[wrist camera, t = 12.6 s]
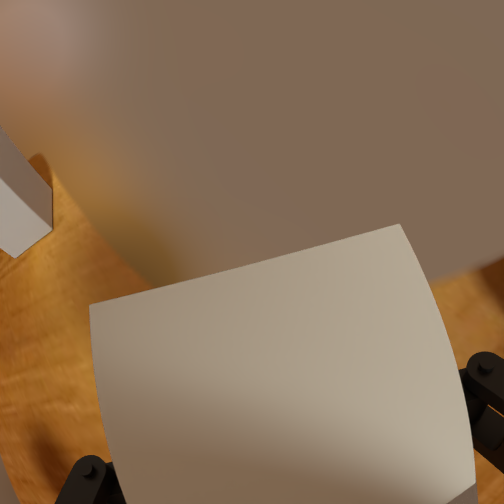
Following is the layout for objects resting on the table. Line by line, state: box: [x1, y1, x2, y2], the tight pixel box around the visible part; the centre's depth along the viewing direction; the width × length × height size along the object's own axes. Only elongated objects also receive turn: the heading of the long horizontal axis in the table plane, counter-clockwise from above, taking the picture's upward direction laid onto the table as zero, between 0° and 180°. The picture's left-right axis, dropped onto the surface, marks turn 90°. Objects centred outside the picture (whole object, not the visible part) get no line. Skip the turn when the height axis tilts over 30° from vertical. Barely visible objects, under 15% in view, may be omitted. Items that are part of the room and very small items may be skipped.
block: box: [89, 224, 476, 504], centre depth 8 cm, size 6×6×12 cm
